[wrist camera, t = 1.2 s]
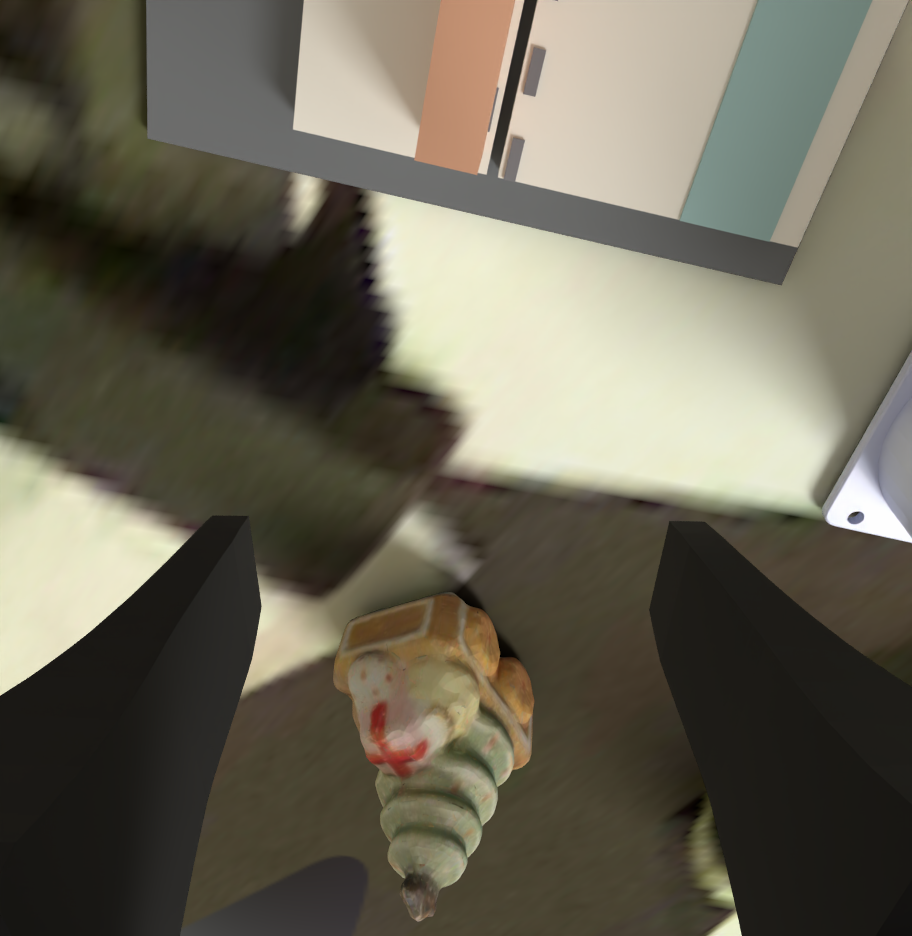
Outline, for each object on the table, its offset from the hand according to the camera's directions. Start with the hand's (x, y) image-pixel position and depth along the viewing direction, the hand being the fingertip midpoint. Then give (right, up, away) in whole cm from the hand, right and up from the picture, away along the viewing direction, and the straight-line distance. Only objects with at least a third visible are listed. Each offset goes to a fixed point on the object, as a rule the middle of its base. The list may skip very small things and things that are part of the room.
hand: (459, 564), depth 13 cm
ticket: (+6, +12, +6) cm, 15 cm away
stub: (-1, +13, +5) cm, 14 cm away
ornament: (-1, -6, +18) cm, 18 cm away
